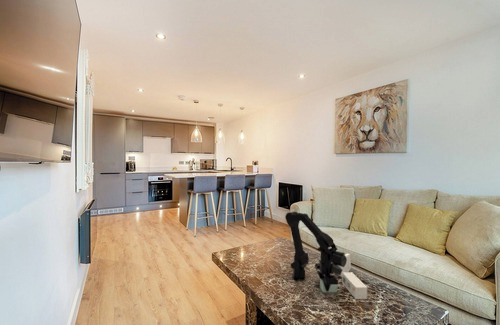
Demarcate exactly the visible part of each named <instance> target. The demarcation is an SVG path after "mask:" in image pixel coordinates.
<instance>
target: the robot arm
mask: <svg viewBox="0 0 500 325" xmlns="http://www.w3.org/2000/svg"><path fill="white" fill-rule="evenodd" d="M284 216H285V217H284V218H285V221H286V223H287V226H289V228H290V232H291V237H292V242H293V247H294V255H293V262H291V263H290V269H292V279H293V280H294V281H306V270H305V267H307V266H308V264H309V262H310V261H309V260H310V258H309V254H308V252H305V250H304V246H303V242H302V237H301V233H300V229H299V227H300V226H299V224H300V222H302V223H303V225H304V226H305V227H306V228H307V229H308V230H309V232H310V233H311V234H312V235H313V236H314V237H315V241H316V242H317V244H318V246H319V247H318V248H316V250H317V251H319V252H320V259H319V261H318V262H316V263H315V264H314V269H315V270H316V273H317V275H318V277H319V280H320V279H322V280H323V283H324V286H325V289H326V291H329V288H330V286H331V285H338V284H339V280H338V278H337V277H336V276H335V275H333V274H337V275H338V276H339V275H341V273H342V269H341V268H340V267H339V266H342V267H344V266H345V265H346V261H347V259H346V256H345V252H341V251H339V250H338V248H337V246H336V244H335V243H334V239H333V237H331V236H330V235H329V234H328V233H325V232H324V231H322V230H321V229H320V227H318V225H317V224H316V223H315V222H314V221H313V220H312V219H311V217H309V214H308V213H302V212H297V211H291V212H287V213H286V214H285V215H284ZM331 262H332V263H331ZM338 265H339V266H338Z"/></svg>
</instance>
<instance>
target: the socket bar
mask: <svg viewBox="0 0 500 325" xmlns="http://www.w3.org/2000/svg"><path fill="white" fill-rule="evenodd" d="M341 283H342V284H343V286H344V287H345V288H346V289H347V291H348V292H349V293H350V294H351V295H352V296H353V298H354V299H355V300H367V299H368V286H366V285H365V284H364V283H363V282H362V281H361V279H359V278H358V277H357V275H355V274H354V272H350V271H349V272H342V277H341Z"/></svg>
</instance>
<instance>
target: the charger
mask: <svg viewBox="0 0 500 325" xmlns="http://www.w3.org/2000/svg"><path fill="white" fill-rule="evenodd" d="M341 287H342V285H341V284H340V283H338V285H331V286H330V288H329V291H326V289H325V286H324V283H323V280H322V279H320V278H319V289H320V291H321V292H322V293H338V288H341Z"/></svg>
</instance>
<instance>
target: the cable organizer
mask: <svg viewBox="0 0 500 325" xmlns="http://www.w3.org/2000/svg"><path fill="white" fill-rule="evenodd" d="M345 256H346V259H347V261H346V265H345V266H344V267H342V266H339V265H338V266H339V267H340V268H341V269H342V272H350V271H351V267H352V266H351V264H352V263H351V262H352V261H351V260H352V258H351V257H352V256H351V253H346V254H345ZM331 263H332V262H331ZM338 276H339V277H341V278H342V273H341V275H338Z"/></svg>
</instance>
